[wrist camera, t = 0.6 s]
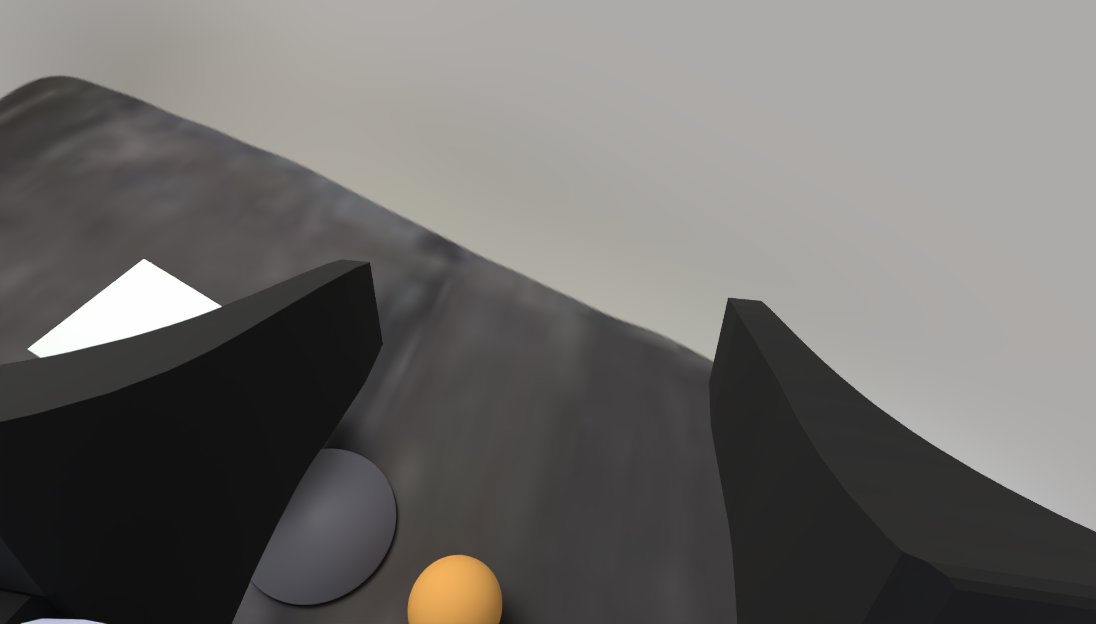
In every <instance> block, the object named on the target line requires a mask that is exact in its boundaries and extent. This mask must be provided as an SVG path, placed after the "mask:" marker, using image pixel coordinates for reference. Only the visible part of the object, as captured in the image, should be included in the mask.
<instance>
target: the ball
mask: <svg viewBox="0 0 1096 624" xmlns="http://www.w3.org/2000/svg"><path fill="white" fill-rule="evenodd" d="M501 614H502V594H501V589H500V586H499V583H498V581H497V579H496V577H495V576H494V574H493V573H492V571H491V570H490V569H489V568H488V567H487V566H486V565H485V564H483V563H482V562H481V561H479V560H477V559H475V558H472V557H469V556H465V555H452V556H448V557H444V558H442V559H439V560H437V561H436V562H434V563H433V564H431V565H430V566H429V567H427V568H426V569H425V570H424V571H423V572H422V574H421V575H420V576H419V578H418V579H417V581H416V582H415V584H414V586H413V589H412V591H411V594H410V598H409V603H408V621H409V624H499V622H500V618H501Z"/></svg>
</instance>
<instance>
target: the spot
mask: <svg viewBox="0 0 1096 624" xmlns="http://www.w3.org/2000/svg"><path fill="white" fill-rule="evenodd" d="M395 525H396V504H395V499H394V495H393V492H392V489H391V486H390V484H389V482H388V481H387V479H386V477H385V476H384V474H383V473H382V472H381V470H380V469H379V468H378V467H377V466H375V465H374V464H373V463H372V462H371V461H369V460H368V459H366V458H364V457H363V456H361V455H359V454H356V453H353V452H351V451H346V450H342V449H321V450H320V451H319V453H318V454H317V456H316V457H315V459H314V460H313V461H312V463H311V464H310V466H309V468H308V469H307V471H306V473H305V474H304V476H303V478H302V479H301V481H300V482H299V484H298V486H297V488H296V490H295V492H294V494H293V496H292V497H291V499H290V501H289V503H288V505H287V507H286V509H285V511H284V513H283V515H282V517H281V519H280V521H279V522H278V524H277V526H276V528H275V530H274V532H273V535H272V537H271V539H270V541H269V543H268V545H267V547H266V549H265V551H264V553H263V555H262V557H261V559H260V561H259V564H258V566H257V568H256V570H255V572H254V574H253V576H252V578H251V581H252V582H253V583H254V584H255V585H256V586H257V587H258V588H259V589H260V590H261V591H263V592H264V593H265V594H267V595H269V596H271V597H272V598H274V599H277V600H280V601H282V602H286V603H290V604H297V605H312V604H319V603H324V602H328V601H331V600H334V599H337V598H339V597H341V596H343V595H345V594H347V593H349V592H350V591H352V590H354V589H355V588H357V587H358V586H359V585H360V584H362V583H363V582H364V581H365V580H366V579H367V578H368V577H369V576H370V575H371V574H372V573H373V572H374V571H375V570H376V568H377V567H378V566H379V565H380V563H381V562H382V560H383V558H384V557H385V555H386V553H387V551H388V549H389V547H390V544H391V542H392V538H393V535H394V531H395Z"/></svg>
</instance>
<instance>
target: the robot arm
mask: <svg viewBox="0 0 1096 624" xmlns="http://www.w3.org/2000/svg"><path fill="white" fill-rule="evenodd" d="M382 344H383V342H382V336H381V330H380V323H379V317H378V311H377V304H376V298H375V292H374V285H373V279H372V273H371V266H370V262H361V261H351V260H339V261H335V262H332V263H329V264H326V265H323V266H320V267H318V268H315V269H313V270H310V271H308V272H305V273H303V274H300V275H298V276H296V277H293V278H291V279H289V280H286V281H284V282H281V283H279V284H277V285H274V286H272V287H270V288H267V289H265V290H262V291H260V292H258V293H255V294H253V295H251V296H248V297H245V298H243V299H240V300H238V301H235V302H232V303H230V304H227V305H225V306H222V307H220V308H217V309H214V310H212V311H209V312H207V313H204V314H201V315H199V316H196V317H193V318H190V319H187V320H184V321H181V322H178V323H175V324H172V325H169V326H166V327H162V328H159V329H156V330H152V331H149V332H146V333H142V334H139V335H135V336H132V337H128V338H124V339H120V340H116V341H112V342H108V343H104V344H100V345H95V346H91V347H87V348H83V349H79V350H75V351H71V352H67V353H62V354H57V355H52V356H47V357H42V358H37V359H32V360H26V361H21V362H15V363H9V364H3V365H0V624H232V622H233V619H234V617H235V615H236V612H237V610H238V608H239V606H240V603H241V601H242V599H243V597H244V594H245V592H246V590H247V588H248V585H249V583H250V581H251V578H252V576H253V574H254V572H255V570H256V568H257V566H258V564H259V561H260V559H261V557H262V555H263V553H264V551H265V549H266V547H267V545H268V543H269V541H270V539H271V537H272V535H273V532H274V530H275V528H276V526H277V524H278V522H279V521H280V519H281V517H282V515H283V513H284V511H285V509H286V507H287V505H288V503H289V501H290V499H291V497H292V496H293V494H294V492H295V490H296V488H297V486H298V484H299V482H300V481H301V479H302V478H303V476H304V474H305V473H306V471H307V469H308V468H309V466H310V464H311V463H312V461H313V460H314V459H315V457H316V456H317V454H318V453H319V451H320V450H321V448H322V447H323V445H324V444H325V442H326V441H327V439H328V438H329V436H330V435H331V433H332V432H333V430H334V429H335V427H336V426H337V424H338V423H339V421H340V420H341V418H342V417H343V415H344V414H345V412H346V411H347V409H348V408H349V406H350V405H351V403H352V402H353V400H354V399H355V397H356V396H357V394H358V393H359V391H360V389H361V388H362V386H363V385H364V383H365V381H366V379H367V377H368V375H369V373H370V371H371V369H372V367H373V365H374V363H375V360H376V358H377V356H378V354H379V351H380V349H381V347H382ZM709 388H710V415H711V428H712V434H713V440H714V446H715V451H716V457H717V463H718V468H719V473H720V479H721V484H722V490H723V495H724V501H725V506H726V511H727V517H728V522H729V528H730V536H731V543H732V552H733V565H734V579H735V593H736V608H737V624H1096V532H1095V531H1093V530H1091V529H1089V528H1086V527H1084V526H1082V525H1080V524H1077V523H1075V522H1073V521H1071V520H1069V519H1067V518H1064V517H1062V516H1061V515H1058V514H1056V513H1055V512H1052V511H1050V510H1049V509H1047V508H1045V507H1043V506H1041V505H1039V504H1037V503H1035V502H1033V501H1031V500H1029V499H1027V498H1025V497H1023V496H1021V495H1019V494H1017V493H1015V492H1013V491H1012V490H1010V489H1007V488H1006V487H1004V486H1002V485H1000V484H999V483H997V482H995V481H993V480H991V479H990V478H988V477H986V476H984V475H982V474H980V473H979V472H977V471H975V470H973V469H972V468H970V467H969V466H967V465H965V464H964V463H962V462H960V461H959V460H957V459H955V458H953V457H952V456H950V455H949V454H947V453H945V452H944V451H942V450H940V449H939V448H937V447H935V446H934V445H932V444H931V443H929V442H928V441H926V440H925V439H923V438H921V437H920V436H918V435H917V434H915V433H914V432H912V431H911V430H909V429H908V428H907V427H905V426H904V425H902V424H901V423H900V422H898V421H897V420H895V419H894V418H893V417H891V416H890V415H888V414H887V413H885V412H884V411H883V410H881V409H880V408H879V407H877V406H876V405H875V404H873V403H872V402H871V401H870V400H868V399H867V398H866V397H864V396H863V395H862V394H861V393H859V392H858V391H857V390H856V389H855V388H854V387H852V386H851V385H850V384H848V382H846V381H845V380H844V379H843V378H841V377H840V376H839V375H838V374H837V373H836V372H835V371H834V370H832V369H831V368H830V367H829V366H828V365H827V364H826V363H824V362H823V361H822V360H821V359H820V358H819V357H818V356H817V355H816V354H815V353H814V352H813V351H812V350H811V349H810V348H809V347H808V346H807V345H806V344H805V343H804V342H803V341H802V340H801V339H799V338H798V337H797V336H796V335H795V334H794V333H793V332H792V330H791V329H790V328H789V327H787V325H786V324H785V323H783V321H781V319H780V318H779V317H778V316H777V315H776V314H775V313H773V311H771V309H770V308H769V307H767V306H766V305H765V304H764V303H763V302H762V301H756V300H746V299H736V298H728V301H727V305H726V310H725V314H724V319H723V323H722V328H721V332H720V337H719V341H718V345H717V350H716V354H715V359H714V363H713V368H712V372H711V377H710V381H709Z"/></svg>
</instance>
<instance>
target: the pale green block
mask: <svg viewBox="0 0 1096 624" xmlns="http://www.w3.org/2000/svg"><path fill="white" fill-rule="evenodd" d="M220 307H222V306H220V305H218V304H217V303H215V302H213V301H212V300H210V299H209V298H207V297H205V296H204V295H202V294H200V293H199V292H197V291H196V290H194V289H192V288H191V287H189V286H187V285H186V284H184V283H182V282H181V281H179V280H178V279H176V278H174V277H173V276H171V275H169V274H168V273H166V272H164V271H163V270H161V269H160V268H158V267H156V266H155V265H153V264H151V263H150V262H148V261H147V260H145V259H143V260H142V261H141V262H139V263H138V264H137V265H135V266H134V267H133V268H132V269H130V270H129V271H128V272H126V273H125V274H124V275H123V276H121V277H120V278H119V279H117V280H116V281H115V282H113V283H112V284H111V285H110V286H108V287H107V288H106V289H104V290H103V291H102V292H101V293H99V294H98V295H97V296H95V297H94V298H93V299H92V300H90V301H89V302H88V303H86V304H85V305H84V306H82V307H81V308H80V309H79V310H77V311H76V312H75V313H73V314H72V315H71V316H70V317H68V318H67V319H66V320H64V321H63V322H62V323H61V324H59V325H58V326H57V327H55V328H54V329H53V330H51V331H50V332H49V333H48V334H46V335H45V336H44V337H42V338H41V339H40V340H39V341H37V342H36V343H35V344H33V345H32V346H31V347H30V348H28V350H29V351H31V352H32V353H33V354H34V355H36V356H37V357H38V358H42V357H47V356H52V355H57V354H62V353H67V352H71V351H75V350H79V349H83V348H87V347H91V346H95V345H100V344H104V343H108V342H112V341H116V340H120V339H124V338H128V337H132V336H135V335H139V334H142V333H146V332H149V331H152V330H156V329H159V328H162V327H166V326H169V325H172V324H175V323H178V322H181V321H184V320H187V319H190V318H193V317H196V316H199V315H201V314H204V313H207V312H209V311H212V310H214V309H217V308H220Z"/></svg>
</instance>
